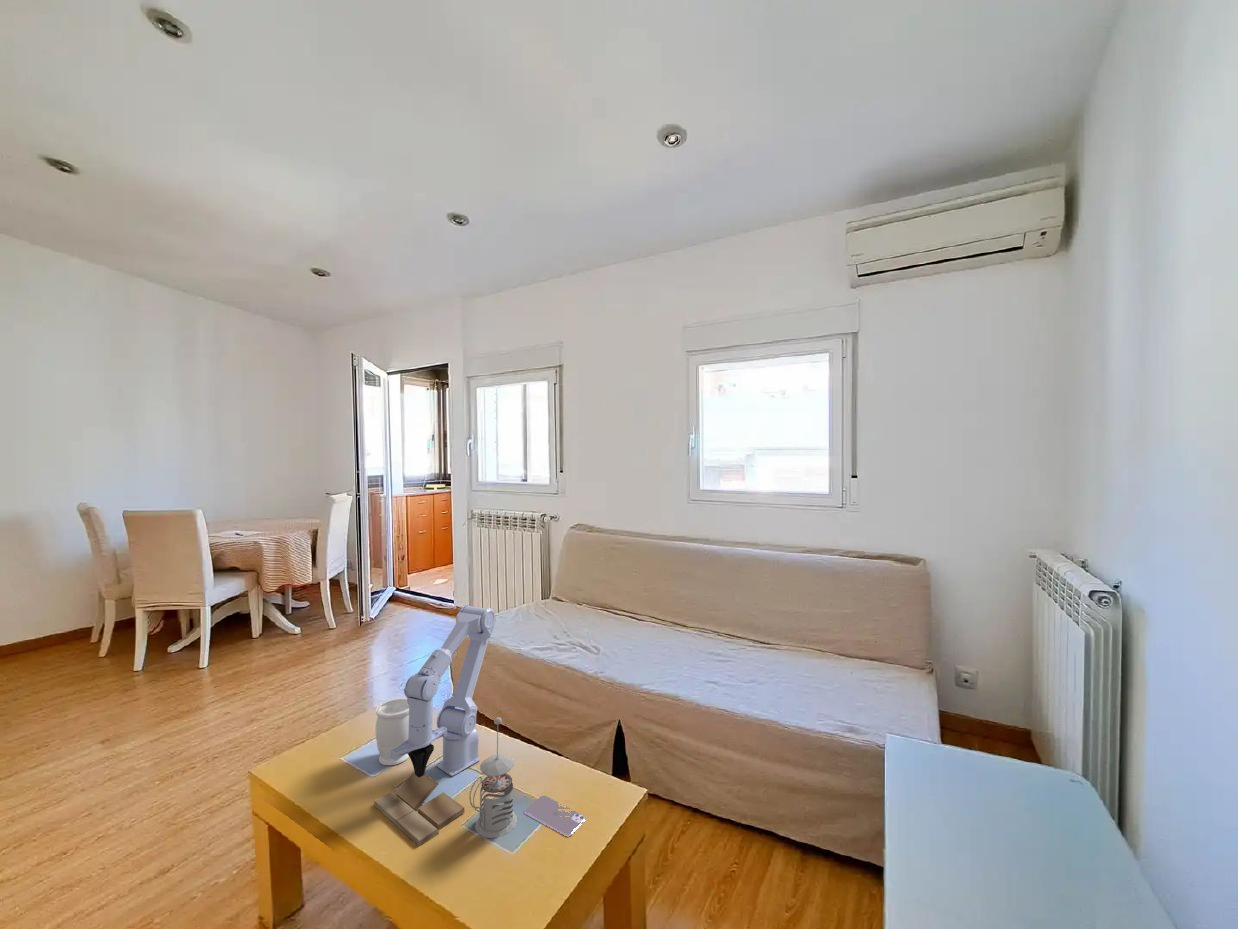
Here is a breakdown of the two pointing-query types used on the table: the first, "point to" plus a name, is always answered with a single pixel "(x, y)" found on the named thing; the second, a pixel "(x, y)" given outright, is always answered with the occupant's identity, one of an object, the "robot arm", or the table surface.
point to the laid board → (406, 818)
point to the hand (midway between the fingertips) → (419, 775)
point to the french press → (495, 816)
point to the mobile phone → (554, 815)
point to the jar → (392, 729)
